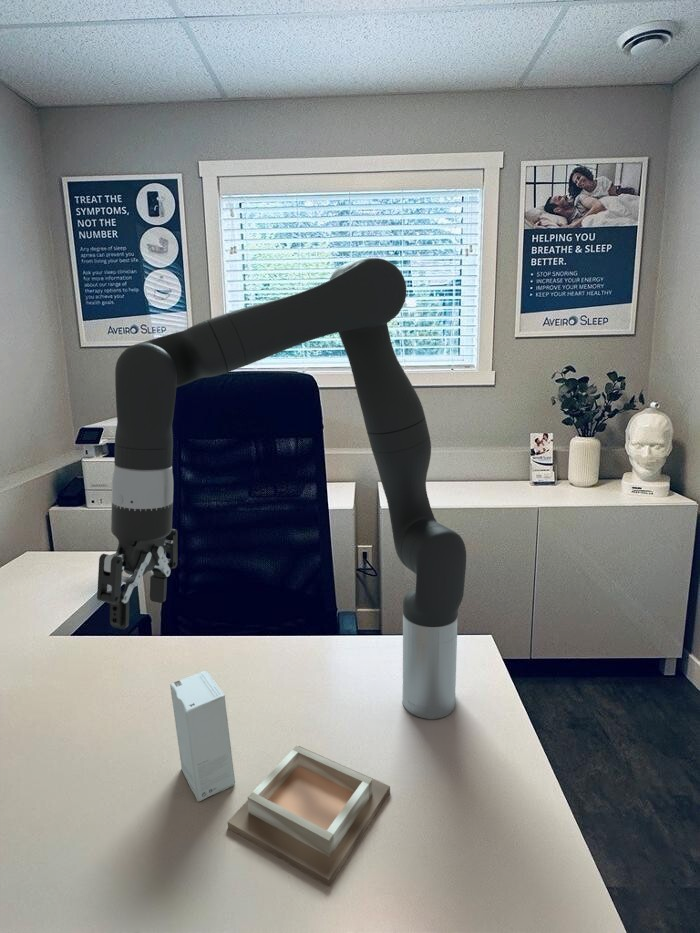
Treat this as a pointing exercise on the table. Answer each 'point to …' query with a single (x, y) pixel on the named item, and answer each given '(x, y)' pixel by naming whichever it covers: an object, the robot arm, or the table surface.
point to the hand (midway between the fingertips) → (139, 613)
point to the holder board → (310, 812)
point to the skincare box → (203, 734)
